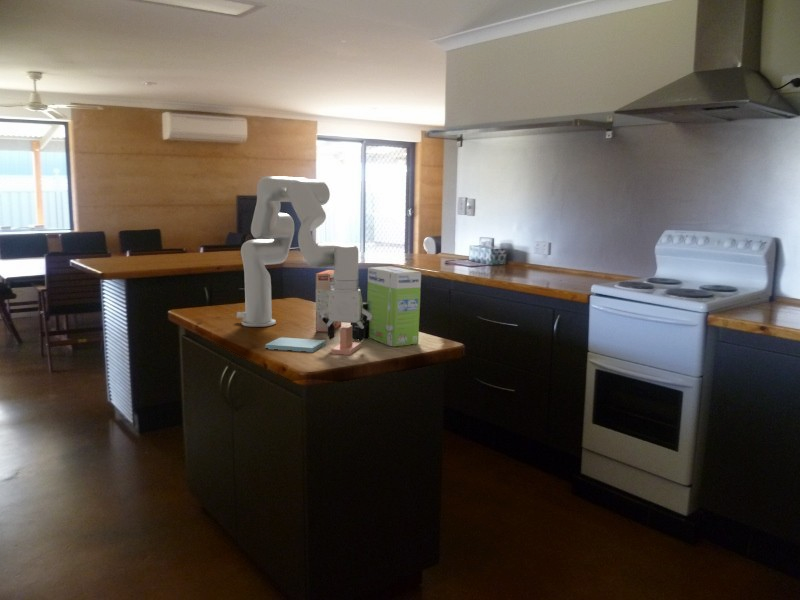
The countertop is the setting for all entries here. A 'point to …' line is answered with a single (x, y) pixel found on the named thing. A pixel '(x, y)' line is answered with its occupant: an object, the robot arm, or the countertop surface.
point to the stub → (346, 342)
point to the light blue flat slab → (296, 344)
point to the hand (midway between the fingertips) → (346, 339)
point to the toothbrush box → (394, 305)
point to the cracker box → (323, 298)
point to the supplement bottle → (356, 327)
